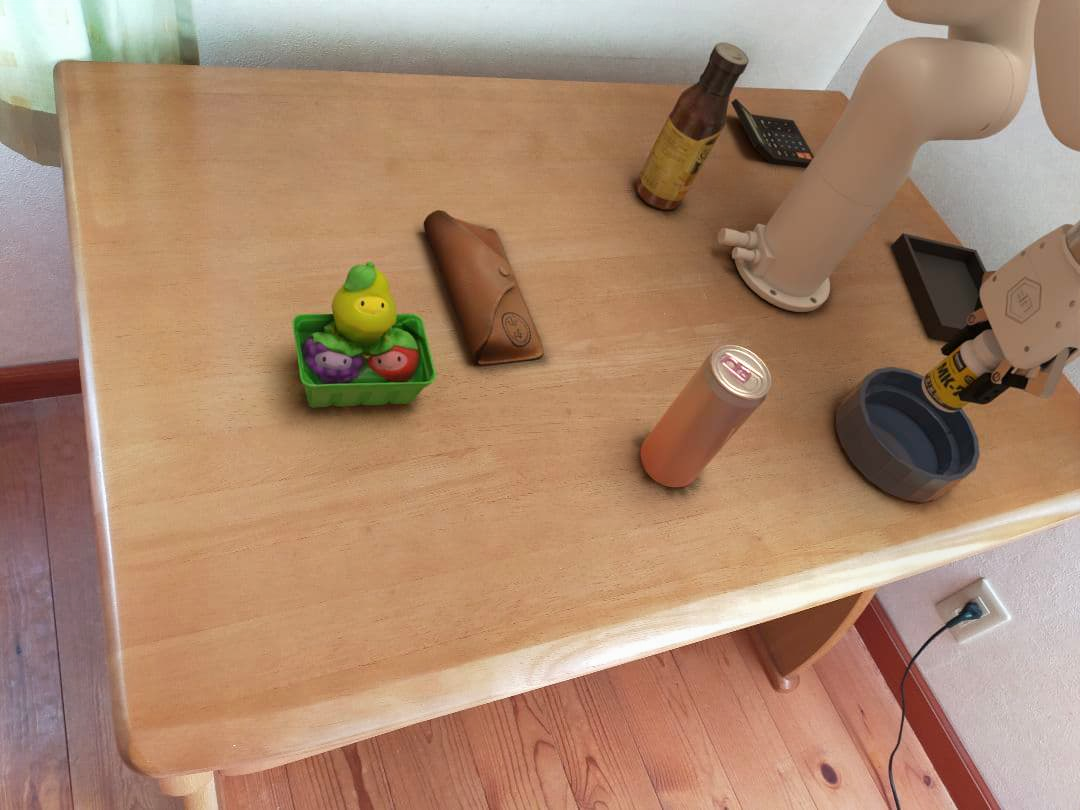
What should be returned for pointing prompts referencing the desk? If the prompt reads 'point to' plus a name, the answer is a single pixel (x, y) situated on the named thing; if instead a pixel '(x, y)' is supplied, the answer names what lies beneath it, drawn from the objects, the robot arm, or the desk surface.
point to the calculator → (775, 138)
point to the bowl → (905, 436)
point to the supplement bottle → (961, 371)
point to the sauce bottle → (691, 130)
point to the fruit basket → (362, 347)
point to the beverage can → (705, 415)
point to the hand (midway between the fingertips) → (962, 376)
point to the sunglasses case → (483, 291)
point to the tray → (940, 282)
